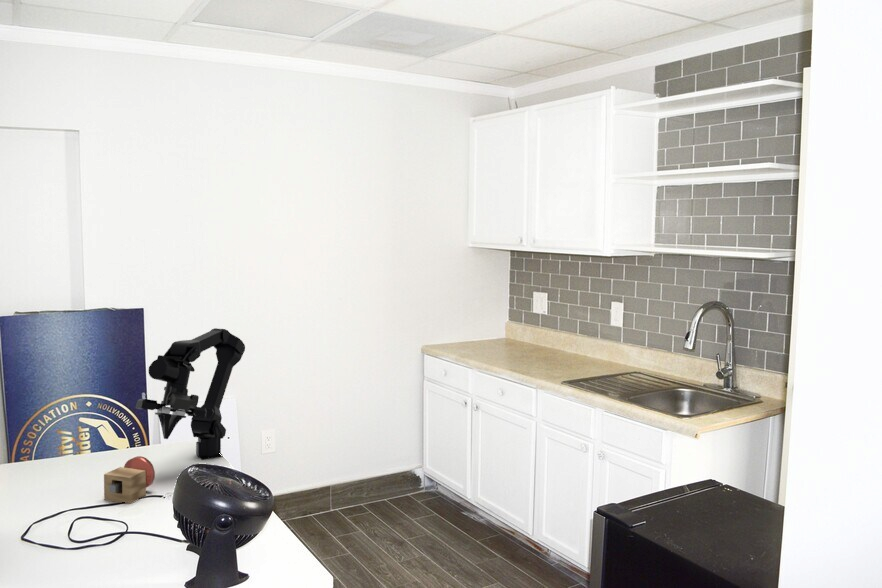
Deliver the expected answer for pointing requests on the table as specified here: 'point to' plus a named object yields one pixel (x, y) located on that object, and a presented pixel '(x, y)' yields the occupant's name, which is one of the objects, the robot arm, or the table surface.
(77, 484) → the table surface
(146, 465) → the copper disc handle
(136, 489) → the tan block
